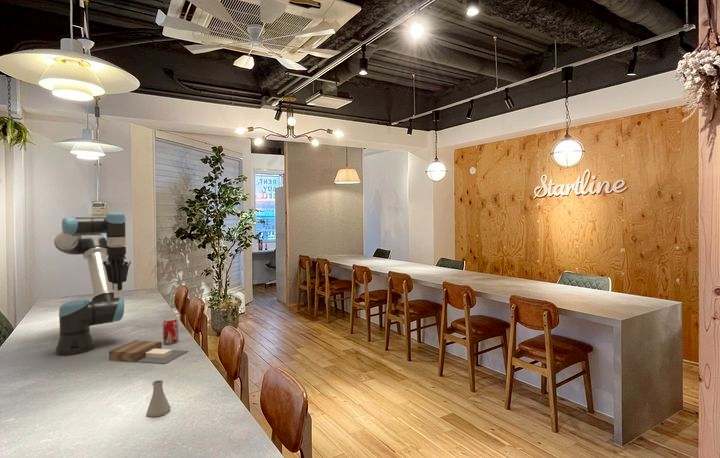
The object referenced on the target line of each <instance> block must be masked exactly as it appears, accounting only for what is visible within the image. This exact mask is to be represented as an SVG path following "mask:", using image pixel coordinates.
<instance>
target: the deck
mask: <svg viewBox="0 0 720 458" xmlns="http://www.w3.org/2000/svg"><path fill="white" fill-rule="evenodd" d="M152 349H162V341H155V340H138V339H137V340H136V339H135V340H133V341H130V342H128V343H125V344H122V345H121V346H119V347H116V348H113V349H111V350H108V360H109V361H116V362H130V363H138V362H137V361H138V360H140V359H142V358H145V353H146V352H148V351H150V350H152Z"/></svg>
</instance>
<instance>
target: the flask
mask: <svg viewBox="0 0 720 458" xmlns="http://www.w3.org/2000/svg"><path fill="white" fill-rule="evenodd" d="M151 383H152V384H151V385H152V386H153V387H152V388H153V390H152V395H151V399H150V402H149V404H148V407H147V411H146V414H145V415H146V417H150V418H151V417H153V418H156V417H161V416H165V415H166V414H168V413H170V411H171V405H170V403H169V401H168V399H167V397H166V394H165V392H164V388H163V383H164V380H163V379H157V380H153V381H152V382H151Z"/></svg>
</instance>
